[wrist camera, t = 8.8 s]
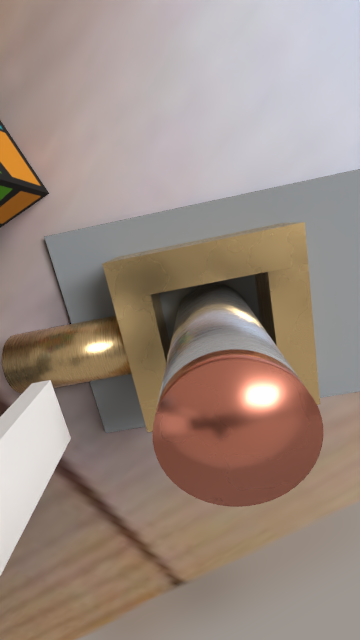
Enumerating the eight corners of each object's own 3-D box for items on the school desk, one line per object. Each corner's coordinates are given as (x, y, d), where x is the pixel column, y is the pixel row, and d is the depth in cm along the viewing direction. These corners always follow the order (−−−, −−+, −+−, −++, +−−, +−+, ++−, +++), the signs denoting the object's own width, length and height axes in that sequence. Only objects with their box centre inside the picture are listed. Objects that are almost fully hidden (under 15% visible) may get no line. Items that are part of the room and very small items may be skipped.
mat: (107, 429, 23) (105, 433, 23) (46, 236, 19) (44, 236, 19) (386, 383, 22) (390, 386, 21) (383, 164, 18) (387, 163, 17)
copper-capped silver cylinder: (184, 358, 21) (171, 515, 9) (170, 290, 20) (135, 376, 8) (253, 346, 20) (329, 495, 9) (243, 276, 19) (315, 346, 8)
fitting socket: (57, 416, 22) (34, 450, 19) (8, 279, 20) (-29, 290, 16) (298, 375, 21) (320, 404, 18) (282, 222, 18) (304, 222, 15)
